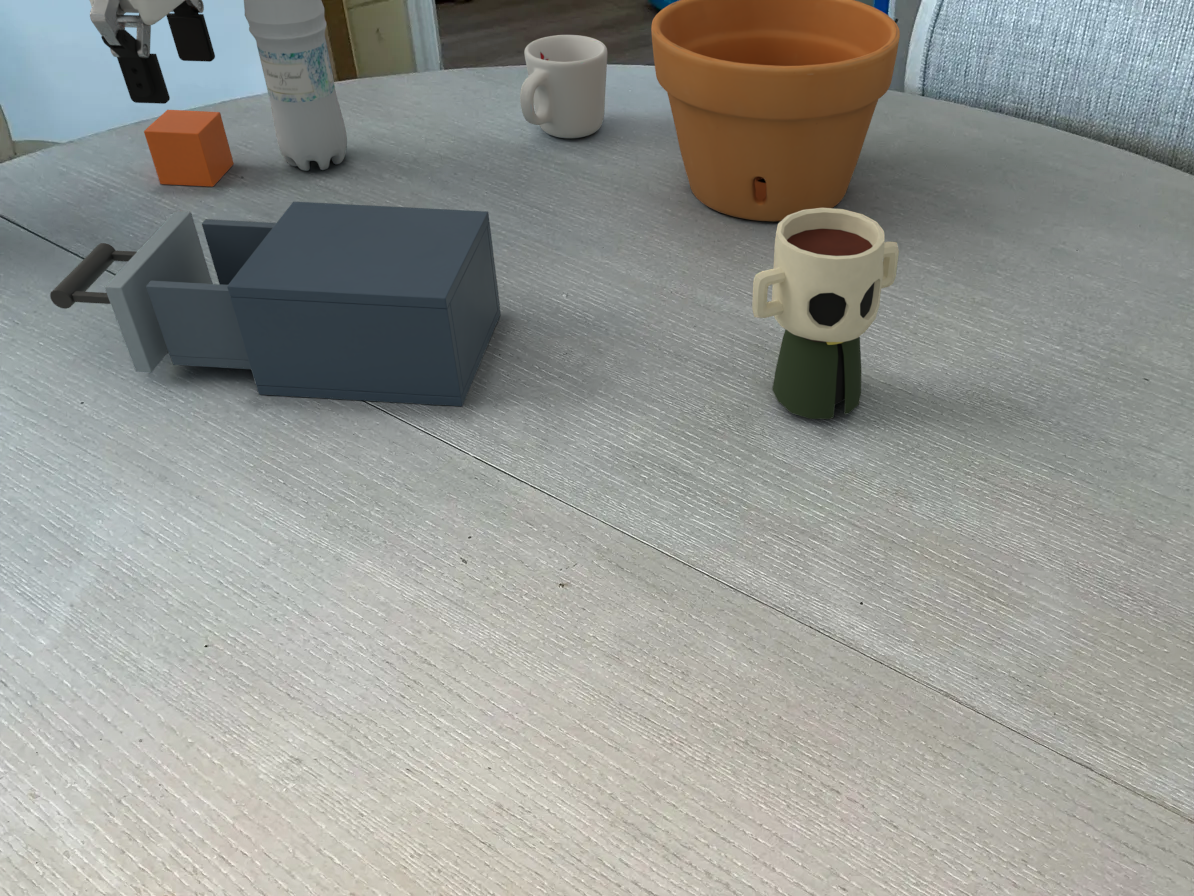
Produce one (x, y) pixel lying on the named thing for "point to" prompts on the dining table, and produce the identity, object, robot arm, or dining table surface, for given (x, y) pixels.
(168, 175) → the block
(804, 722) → the dining table surface
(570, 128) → the cup
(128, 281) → the drawer
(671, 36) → the flower pot
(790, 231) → the character mug
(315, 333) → the drawer cabinet
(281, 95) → the bottle
